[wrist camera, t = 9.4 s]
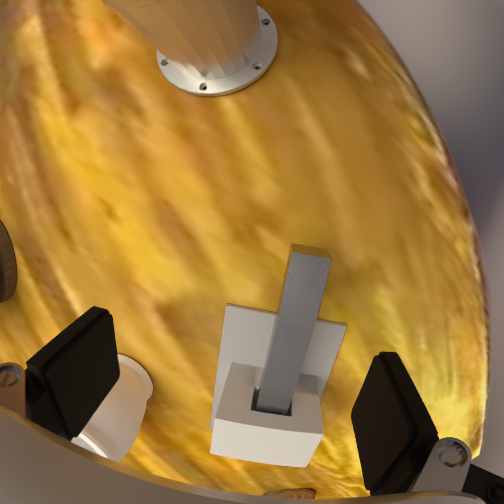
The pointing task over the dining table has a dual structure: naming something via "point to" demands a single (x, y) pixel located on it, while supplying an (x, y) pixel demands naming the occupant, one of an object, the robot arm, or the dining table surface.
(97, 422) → the jar
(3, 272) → the wooden container
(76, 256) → the dining table surface
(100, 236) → the dining table surface
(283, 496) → the pastry
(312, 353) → the bearing block
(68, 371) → the robot arm
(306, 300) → the shaft
